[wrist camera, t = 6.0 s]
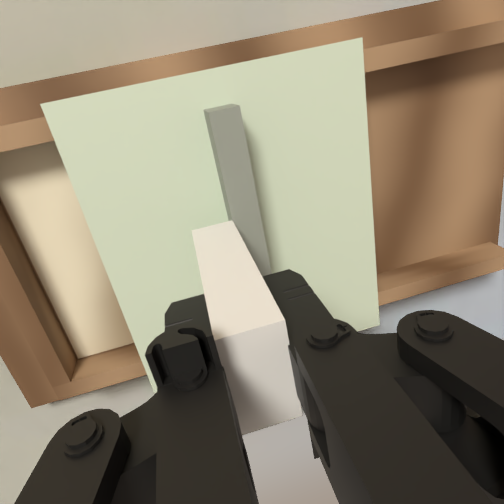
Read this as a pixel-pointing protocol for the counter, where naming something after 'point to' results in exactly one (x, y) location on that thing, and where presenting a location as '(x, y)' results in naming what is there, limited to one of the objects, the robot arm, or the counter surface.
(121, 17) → the counter surface
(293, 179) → the lid
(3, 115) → the brown compartment box
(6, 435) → the counter surface
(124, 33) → the counter surface
